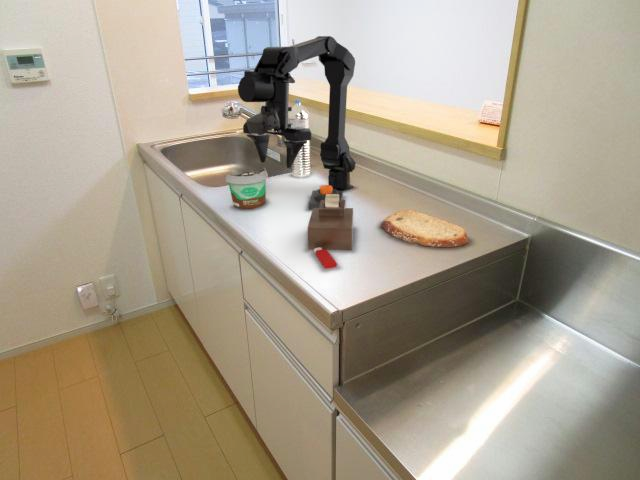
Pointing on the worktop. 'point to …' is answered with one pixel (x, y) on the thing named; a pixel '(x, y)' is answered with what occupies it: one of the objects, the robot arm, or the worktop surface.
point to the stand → (331, 227)
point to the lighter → (325, 258)
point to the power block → (321, 198)
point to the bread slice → (424, 229)
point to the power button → (325, 189)
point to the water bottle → (303, 158)
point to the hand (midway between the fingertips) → (275, 165)
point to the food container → (248, 189)
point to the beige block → (332, 200)
